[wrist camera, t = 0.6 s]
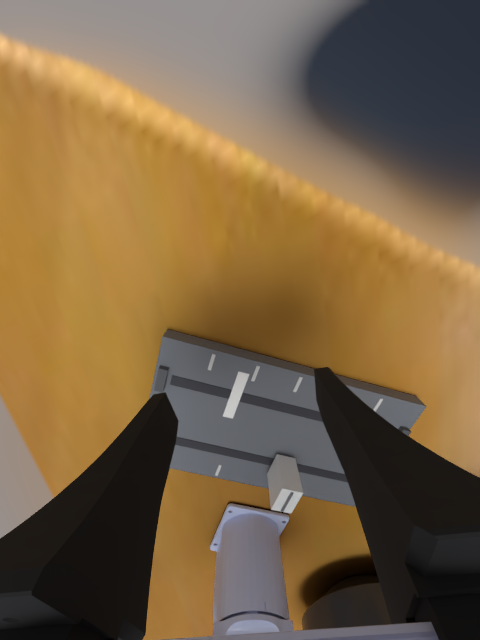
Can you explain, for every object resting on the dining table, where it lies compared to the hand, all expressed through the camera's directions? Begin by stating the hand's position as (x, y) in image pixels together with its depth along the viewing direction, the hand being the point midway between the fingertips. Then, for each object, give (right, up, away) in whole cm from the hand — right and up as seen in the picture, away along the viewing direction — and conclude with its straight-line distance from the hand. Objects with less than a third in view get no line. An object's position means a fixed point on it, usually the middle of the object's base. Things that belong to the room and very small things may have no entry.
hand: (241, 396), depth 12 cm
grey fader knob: (+4, -12, +14) cm, 19 cm away
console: (+3, -7, +14) cm, 16 cm away
